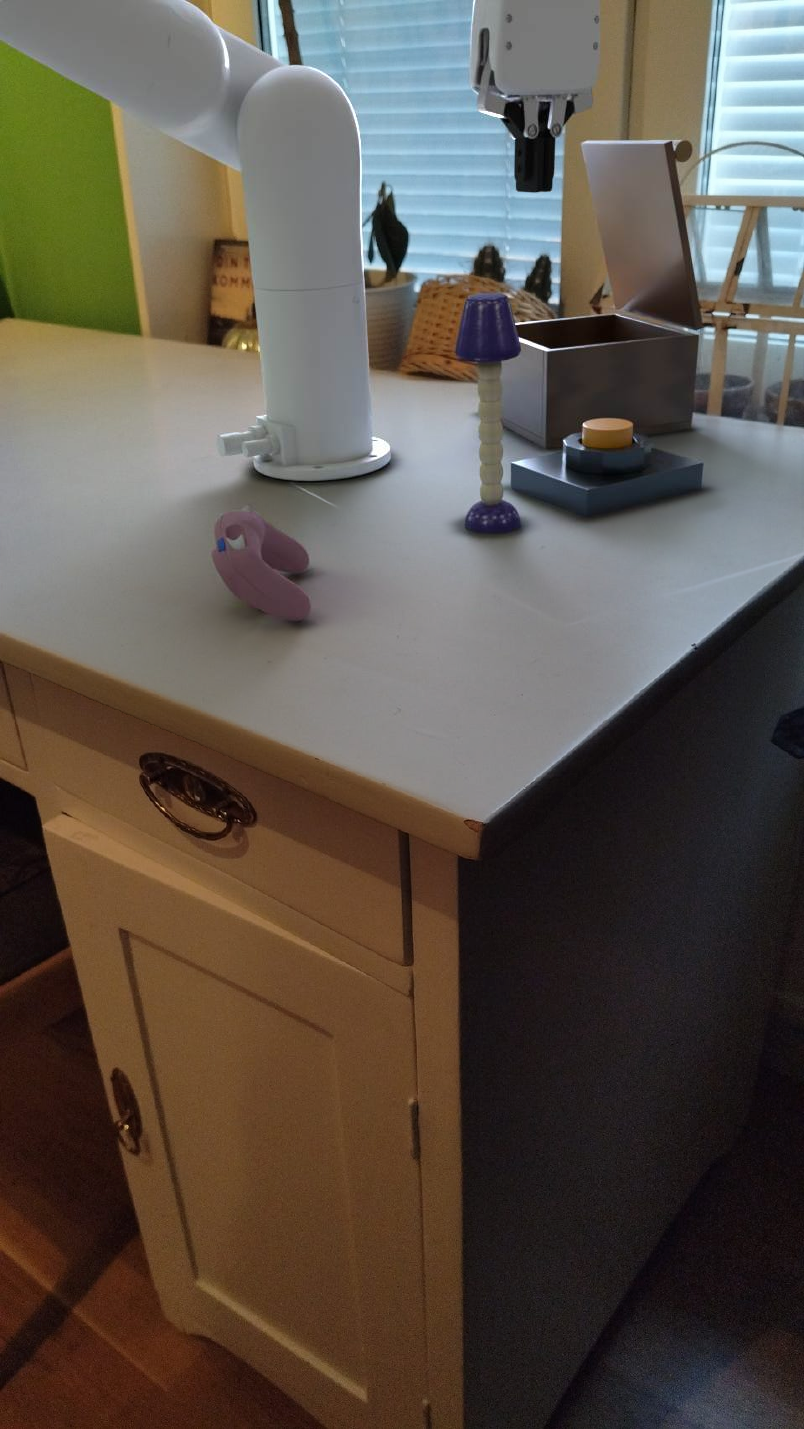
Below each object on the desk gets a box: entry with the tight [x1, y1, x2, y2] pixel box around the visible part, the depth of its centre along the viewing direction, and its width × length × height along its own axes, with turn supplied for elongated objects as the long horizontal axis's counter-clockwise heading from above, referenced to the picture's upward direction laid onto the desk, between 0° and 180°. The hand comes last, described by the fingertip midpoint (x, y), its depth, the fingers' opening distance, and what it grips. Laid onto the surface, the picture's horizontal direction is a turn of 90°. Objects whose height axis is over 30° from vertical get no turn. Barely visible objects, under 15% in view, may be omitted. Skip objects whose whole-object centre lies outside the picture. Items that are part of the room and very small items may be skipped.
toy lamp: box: [454, 292, 521, 535], centre depth 80 cm, size 5×5×17 cm
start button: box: [582, 418, 633, 448], centre depth 89 cm, size 4×4×2 cm
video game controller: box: [211, 505, 312, 622], centre depth 72 cm, size 10×5×7 cm, turn 5°
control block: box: [510, 432, 705, 518], centre depth 90 cm, size 12×10×4 cm
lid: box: [580, 139, 704, 332], centre depth 105 cm, size 16×16×5 cm
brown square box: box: [499, 312, 700, 449], centre depth 109 cm, size 16×16×9 cm
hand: (533, 191), depth 93 cm, fingers closed
